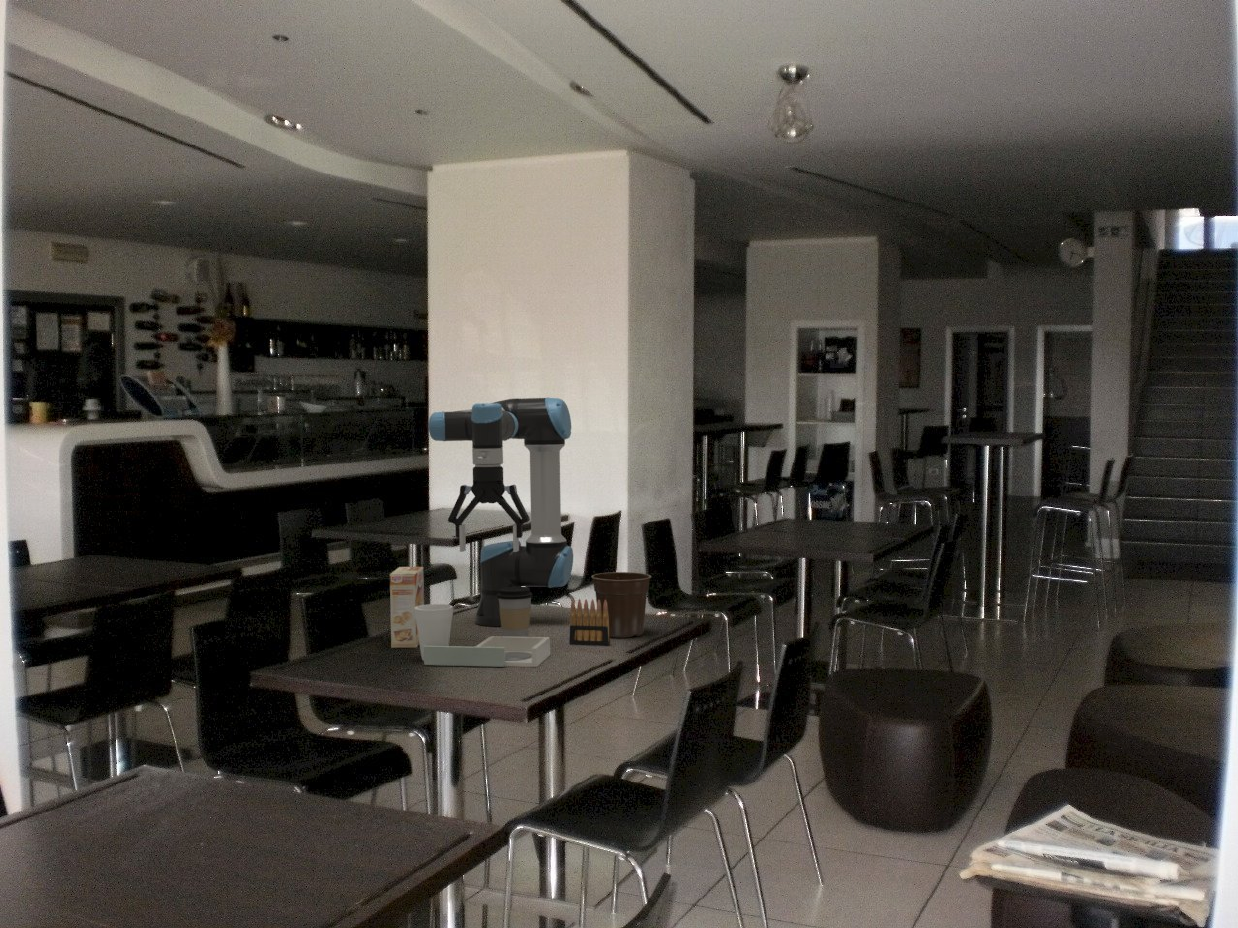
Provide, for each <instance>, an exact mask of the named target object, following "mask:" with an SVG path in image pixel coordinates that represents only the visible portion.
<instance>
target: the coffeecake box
mask: <svg viewBox="0 0 1238 928" xmlns="http://www.w3.org/2000/svg"><path fill="white" fill-rule="evenodd" d="M424 580H425V579H424V566H399V567H397V568H396V569H395V570H393V571H391V573H389V593H390V598H389V599H390V600H389V601H390V602H389V604H390V605H389V606H390V642H391V643H390V648H391V649H397V648H399V649H401V648H402V649H403V648H404V649H405V648H406V649H407V648H413V649H414V648H418V646H420V644H419V637H418V631H417V624H416V618H415V610H414V608H415V607H417V606H421V605H425V599H424V598H425V594H424V592H425V587H424V586H425V585H424V584H425V583H424V582H425V581H424Z"/></svg>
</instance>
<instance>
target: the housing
mask: <svg viewBox="0 0 1238 928" xmlns="http://www.w3.org/2000/svg"><path fill="white" fill-rule="evenodd" d="M475 647H505V666H504V667H516V668H517V667H521V668H522V667H523V668H525V667H527V668H537V667H538V666H540V665H541V664H542V663H543V662H544V661H545V660H546V659H548V658H549V656H551V637H550V636H528V637H510V636H503V635H502V636H500V635H498V636H497V635H494V636H493V635H491V636H489V637H487V638H485V639H484V640H483V641H481V642H480V643H479V644H477V645H475Z"/></svg>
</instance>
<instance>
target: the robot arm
mask: <svg viewBox="0 0 1238 928" xmlns="http://www.w3.org/2000/svg"><path fill="white" fill-rule="evenodd" d="M428 432H429V436H430V438H431V439H432V440H433V441H435V442H437V441H438V442H439V441H440V442H460V441H461V442H464V441H467V442H468V441H469V442H472V445H471V448H472V449H471V453H472V454H471V455H472V464H473V465H474V466H473V468H472V485H467V484H463V485H460V487H459V495H458V497H457V499H456V502H455V503H454V505H453V507H452V510H451V513H450V514H449V517H448V519H447V521H448V523H451V524H454V526H455V537H456V539H459V552H460V553H461V552H465V551H466V550H467V548H466V547H467V546H466V543H467V541H466V540H467V539H466V524H463V523H464V521H465V520H466V519H467V518H468V517H469V515H470V514H471V513H472V511H474V509H475V508H476V507H477V505H478V504H479V503H480V504H487V503H488V504H495V503H496V504H498V505H499V506H501V508H502V509H503V510H504V511H505V512H506V514H507V515H508V517H510V518H511V520H512V521H513V522H514V523H515V524H513V525H512V540H509V541H508V540H507V541H503V542H496V543H491V544H490V543H489V544H486V545H484V546H483V547H482V548H481V550H480V560H479V564H480V565H479V566H480V592H481V593H480V594H481V595H480V600H479V603H478V606H477V610H476V613H475V624H477V625H480V626H486V627H501V618H500V610H499V607H500V605H499V598H497V594H498V593H499V589H501V588H506V587H526V588H530V587H531V588H532V587H535V588H536V587H538V588H543V587H545V588H549V589H550V588H559V587H560V588H562V587H564V586H566V585H567V584H568V582H569V580H570V578H571V574H572V572H573V571H572V570H573V566H574V550H573V548H572V546H569V545H567V539H566V537H564V535H562V521H561V514H562V513H561V456H560V455H561V450H562V449H563V448H564V447H565V446H566V441H565V440H567V439H570V437H571V434H572V421H571V414H570V411H569V408H568V405H567V404H566V402H565V401H564V400H563V399H561V398H558V397H557V398H556V397H536V398H535V397H533V398H531V397H530V398H525V397H524V398H518V397H516V398H508V399H502V400H499V401H495V402H491V403H490V402H489V403H488V402H487V403H486V402H485V403H484V402H483V403H474V404H473V405H472V407H471V409H470V408H469V409H461V410H455V411H436V412H432V413H431V415H430V417H429V419H428ZM511 439H512V440H523V445H524V447H525V448H526V449H527V450H528V451H529V477H530V478H529V481H530V483H529V484H530V487H529V489H530V494H529V495H530V516H529V513H528V512H527V510H526V508H525V507H524V504H523V502H522V500H521V499H520V496H519V494H518V490H517V485H516V484H511V485H506V486H505V484H504V467H503V466H502V465H503V463H504V450H503V447H504V446H503V444H504V443H503V442H505V441H507V440H508V441H509V440H511ZM470 492H472V494H473V496H474V497H473V498H472V499H471V501H470V502H469V503H468V505H467V506H466V507H465V508H464V510H463V511H462V512H461V513H460V510H461V508H462V505H463V504H464V502H465V500H466V498H467V495H469V494H470ZM505 492H506V493H507V494H508V495H509V496H510V498H511V500H512V501H513V504H514V505H515V508H516V510H517V512H518V513H517V512H516V511H515V510H514V508H513V507H512V506H511V505H510V504H509V503H508V502H507V500H506V499H505V497H504V496H503V495H504V494H505ZM459 513H460V515H459ZM518 514H519V515H520V516H519V515H518ZM458 515H459V516H458ZM529 521H530V535H529V537H528V538H527V539H526V541H525V545H524V546H523V545H522V543H521V541H520V540H519V539H521V538H523V535H524V534H523V533H524V532H523V525H524V524H525V523H528V522H529Z"/></svg>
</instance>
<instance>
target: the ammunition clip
mask: <svg viewBox="0 0 1238 928" xmlns="http://www.w3.org/2000/svg"><path fill="white" fill-rule="evenodd" d="M570 603H571V604H570V613H569V615H570V616H569V618H570V619H569V620H570V621H569V622H570V623H569V624H570V625H569V642H568V643H569V645H570V646H571V645H572V646H599V647H608V646H610V645H611V637H610V630H609V615H608V605H607V601H606V600H605V601H604V605H603V625H602V610H601V603H600V600H598V602H596V605H595V601H594V599H592V598H591V601H590V605H589V602H588V600H587V599H586V598H585V600H584V604H582V601H581V599H580V598H579V599H578V602H577V605H576V602H575V600H574V598H572V599H571V602H570ZM582 605H583V606H582ZM576 606H577V607H576ZM589 607H590V609H589ZM576 609H577V610H576ZM589 610H590V611H589Z"/></svg>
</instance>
